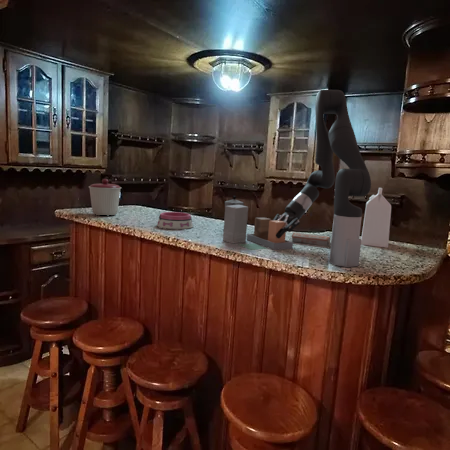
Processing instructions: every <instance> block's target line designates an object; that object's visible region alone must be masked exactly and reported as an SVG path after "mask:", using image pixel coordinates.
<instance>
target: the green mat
mask: <svg viewBox="0 0 450 450" xmlns="http://www.w3.org/2000/svg"><path fill="white" fill-rule="evenodd" d="M237 246H240V247H243V248H245V249H248V250H250V251H255V250H268V247H265V246H262V245H260V244H257V243H239V244H238V243H237Z"/></svg>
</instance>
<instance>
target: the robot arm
mask: <svg viewBox="0 0 450 450" xmlns="http://www.w3.org/2000/svg"><path fill="white" fill-rule="evenodd" d="M314 103H315V104H314V105H315V108H314V110H315V129H316V130H315V132H316V149H315V159H314V160H315V164H316V165H318V166H319V167H320V168H321V170H319V169H317V170H314V171H313V172H311V173H310V175H309V177H308V178H307V181H306V183H305V185H304V187H303V188H302V189H301V190H300V192H299V193H297V194H296V195H294V197H293V199H292V200H291V201H290V202H289V203H288V204H287V205H286V207H285V208H284V213H282V214H279V213H277V214H276V215H275V216H274V217H273V219H272V221H275V220H278V221H284V225H283V226H282V229H280V230H279V231H278V232H277V234H276V237H277V238H280V237H281V236H282V235H283V234H284V233H285V232H286V233H287V232H289V233H291V232H292V231H293V230H294V229H295V228H296V227H298V225H300V224H301V221H300V219H301V218H302V217H303V216H304V215H305V213H306V212H307V211H308V210H309V208H310V207H311V206H312V204H313V203H314V202H315V201H316V200H317V199H318V198H319V195H320V191H319V190H318V188H323V189H330V188H332V187H333V186H334V198H333V207H334V208H333V211H334V212H333V218H332V220H333V221H332V222H333V223H332V227H331V228H332V231H331V237H330V243H331V245H330V247H329V248H330V249H329V260H328V262H329V264H331V265H335V266H338V267H339V266H340V267H344V268H352V267H358V266H360V265H359V264H360V256H361V255H360V254H361V249H362V248H361V247H362V244H361V238H360V234H361V225H362V216H363V209H362V208H361V207H359V206H356V205H354V204H353V203H351V202H350V200H349V197H366V196H367V195H368V194H369V193H370V192H371V187H372V181H371V180H372V178H371V174H370V172H369V169H368V167H367V165H366V163H365V161H364V159H363V157H362V156H363V155H362V154H361V151H360V148H359V145H358V142H357V138H356V135H355V132H354V128H353V125H352V122H351V119H350V115H349V110H348V104H347V99H346V94H345V93H344V92H343V91H342V90H339V89H319V90H318V92H317V93H316V97H315V102H314ZM325 114H326V115H329V114H330V115H331V114H332V115H333V114H334V115H335V116H336V119H335V121H334V122H333V123H332V125H331V127H330V129H329V130H328V127H327V126H326V121H325ZM333 155H335V156H336V157H337V158H339V159H340V160H341V161H342V162H343V163H344V164H345V165H346V166H347V167H348V168H341V169H339V170H338V172H337V173H336V174H335V168H334V163H333V159H334V156H333ZM335 175H336V176H335Z"/></svg>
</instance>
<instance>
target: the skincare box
mask: <svg viewBox="0 0 450 450" xmlns="http://www.w3.org/2000/svg"><path fill="white" fill-rule="evenodd" d="M248 217H249V206H246V205H230V206H225V205H224V219H223V220H224V223H223V229H224V232H223V235H222V236H223V237H222V238H223V239H222V241H223V242H227V243H232V244H238V243H239V244H240V243H244V242H247V241H246V240H247V230H248V229H247V228H248Z"/></svg>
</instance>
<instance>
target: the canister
mask: <svg viewBox="0 0 450 450" xmlns="http://www.w3.org/2000/svg"><path fill="white" fill-rule="evenodd" d="M88 188H89V194H90V203H91V205H90V206H91V211H92V214H93V215H95V214H96V215H95V216H97V215H114V216H116V215H117V214H118V211H119V205H120V204H119V202H120V194H121V189H122V187H121V186H120V185H119V184H115V183H109V179H107V178H102V180H101V183H93V184H90V185H89V186H88ZM115 214H116V215H115Z"/></svg>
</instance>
